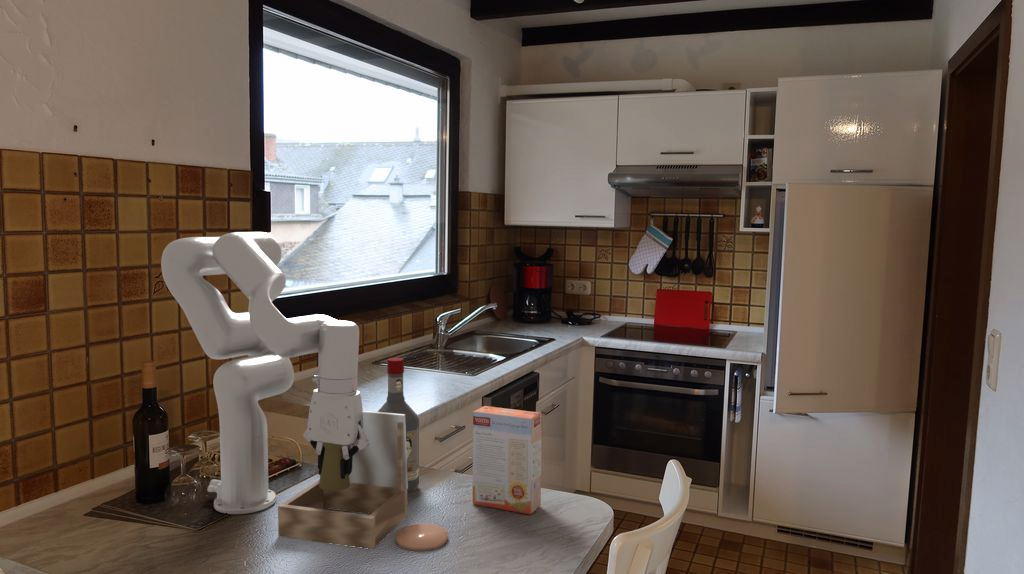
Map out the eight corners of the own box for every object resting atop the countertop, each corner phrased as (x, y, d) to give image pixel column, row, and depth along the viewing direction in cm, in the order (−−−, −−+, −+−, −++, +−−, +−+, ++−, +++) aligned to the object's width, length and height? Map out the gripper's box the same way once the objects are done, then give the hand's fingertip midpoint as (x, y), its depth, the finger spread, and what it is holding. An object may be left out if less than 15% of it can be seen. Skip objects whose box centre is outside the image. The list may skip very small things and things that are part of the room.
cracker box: (541, 506, 158) (543, 411, 156) (530, 516, 152) (532, 418, 150) (484, 495, 164) (484, 403, 162) (471, 504, 158) (472, 410, 156)
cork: (342, 493, 141) (344, 438, 139) (313, 488, 142) (314, 434, 140) (355, 481, 146) (356, 428, 145) (327, 477, 148) (328, 425, 146)
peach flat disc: (386, 546, 137) (386, 541, 137) (408, 525, 147) (408, 520, 147) (436, 553, 135) (436, 548, 134) (455, 531, 144) (455, 526, 144)
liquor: (368, 486, 168) (368, 358, 165) (404, 478, 173) (404, 354, 171) (386, 498, 161) (386, 364, 158) (423, 490, 166) (423, 360, 163)
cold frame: (278, 536, 141) (276, 425, 139) (322, 504, 157) (320, 404, 155) (372, 549, 136) (371, 435, 134) (407, 515, 152) (407, 412, 149)
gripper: (288, 383, 140) (286, 474, 142) (367, 394, 136) (364, 488, 138) (309, 375, 147) (307, 462, 150) (385, 385, 143) (381, 474, 145)
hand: (334, 473), depth 144 cm, fingers closed on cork, 4 cm apart
